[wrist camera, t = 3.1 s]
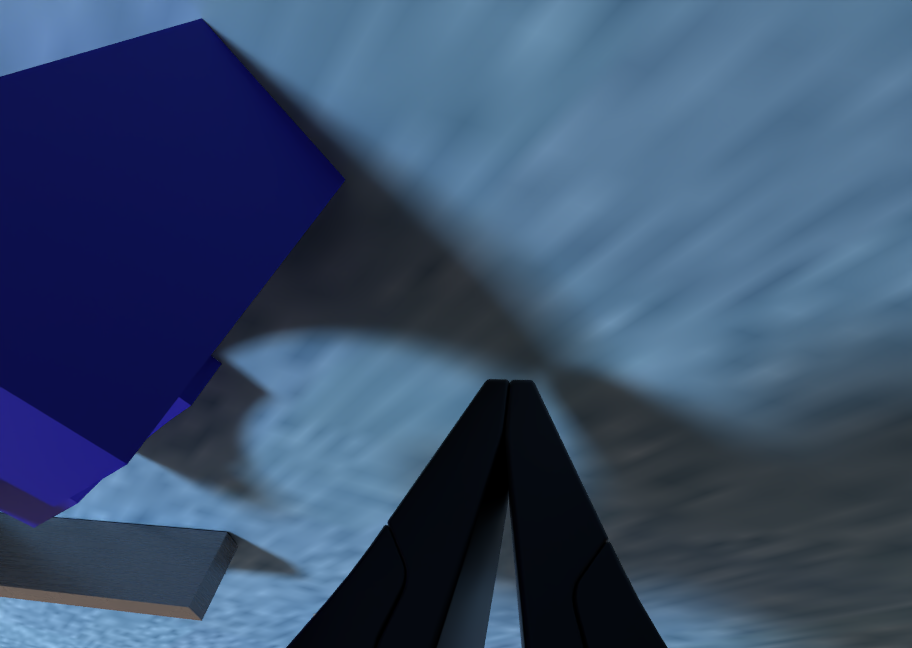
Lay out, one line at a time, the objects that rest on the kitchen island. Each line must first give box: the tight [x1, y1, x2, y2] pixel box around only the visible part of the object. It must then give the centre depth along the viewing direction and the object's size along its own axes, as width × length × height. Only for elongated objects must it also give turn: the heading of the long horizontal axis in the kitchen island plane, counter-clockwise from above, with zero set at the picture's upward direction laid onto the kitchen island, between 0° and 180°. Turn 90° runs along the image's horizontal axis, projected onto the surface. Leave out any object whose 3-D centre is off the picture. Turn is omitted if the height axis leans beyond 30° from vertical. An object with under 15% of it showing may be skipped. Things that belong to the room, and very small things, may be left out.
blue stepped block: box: [0, 18, 345, 528], centre depth 9 cm, size 12×4×6 cm, turn 128°
